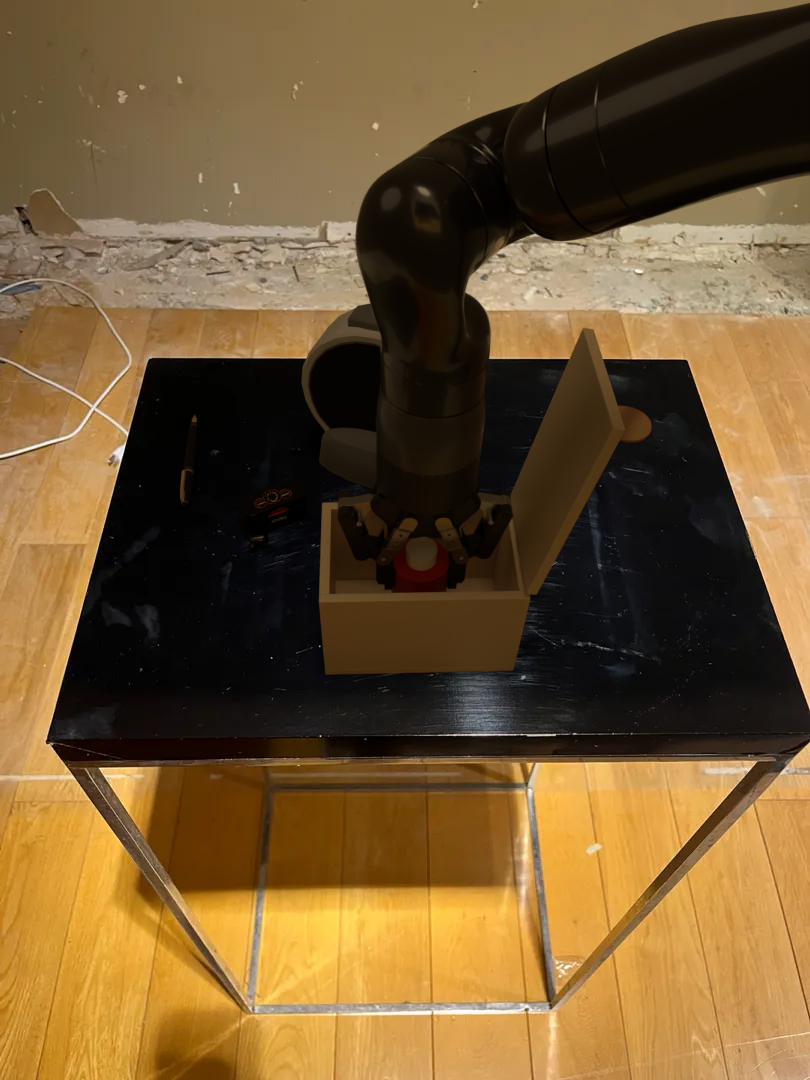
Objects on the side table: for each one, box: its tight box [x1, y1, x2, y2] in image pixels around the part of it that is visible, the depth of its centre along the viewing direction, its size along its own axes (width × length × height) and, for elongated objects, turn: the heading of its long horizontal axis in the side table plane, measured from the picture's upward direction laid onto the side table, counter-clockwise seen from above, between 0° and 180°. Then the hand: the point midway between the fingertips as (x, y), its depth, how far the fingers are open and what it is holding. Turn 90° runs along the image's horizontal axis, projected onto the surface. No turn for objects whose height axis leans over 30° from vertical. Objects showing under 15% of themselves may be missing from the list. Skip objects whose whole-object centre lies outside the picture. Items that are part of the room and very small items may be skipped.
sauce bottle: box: [392, 537, 450, 593], centre depth 72 cm, size 5×5×10 cm
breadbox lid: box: [509, 327, 625, 596], centre depth 61 cm, size 18×11×1 cm
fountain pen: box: [179, 414, 198, 509], centre depth 88 cm, size 14×1×2 cm, turn 5°
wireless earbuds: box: [238, 478, 308, 552], centre depth 82 cm, size 5×7×3 cm, turn 120°
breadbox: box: [318, 501, 532, 676], centre depth 72 cm, size 17×11×11 cm, turn 92°
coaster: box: [618, 405, 653, 444], centre depth 94 cm, size 6×6×1 cm
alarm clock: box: [301, 303, 381, 490], centre depth 83 cm, size 16×10×18 cm, turn 69°
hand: (419, 580), depth 71 cm, fingers closed on sauce bottle, 4 cm apart
